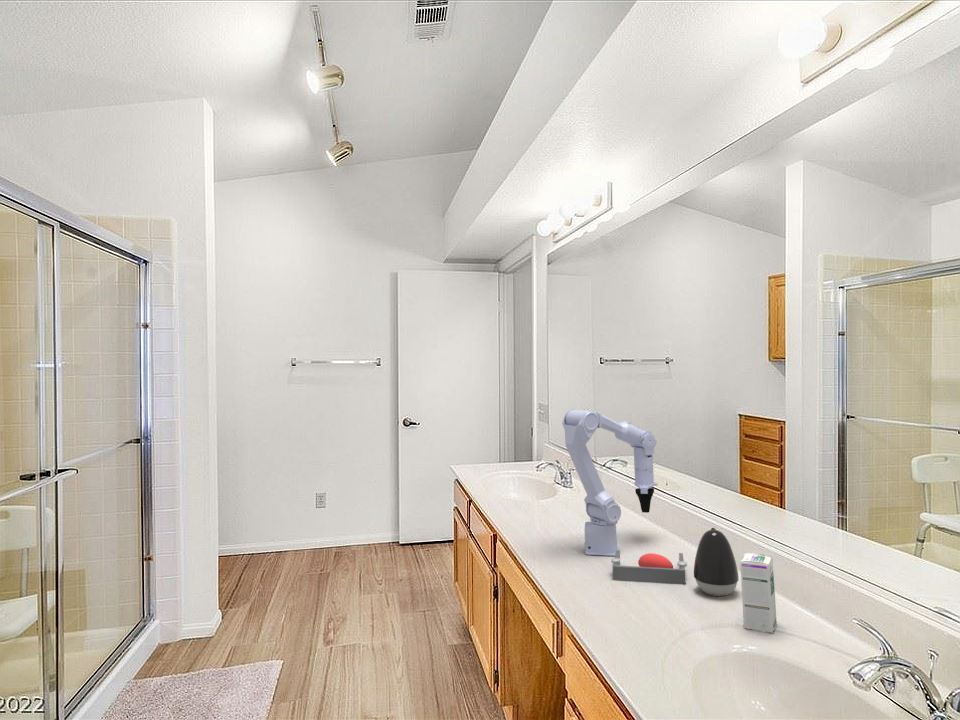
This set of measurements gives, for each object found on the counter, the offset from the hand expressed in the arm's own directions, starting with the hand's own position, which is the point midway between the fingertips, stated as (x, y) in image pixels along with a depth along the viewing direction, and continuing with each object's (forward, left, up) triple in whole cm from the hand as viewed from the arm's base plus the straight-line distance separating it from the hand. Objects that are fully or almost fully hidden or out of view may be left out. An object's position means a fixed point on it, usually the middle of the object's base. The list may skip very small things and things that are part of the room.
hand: (645, 512), depth 189 cm
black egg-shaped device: (+17, -39, -10) cm, 44 cm away
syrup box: (+24, -57, -10) cm, 63 cm away
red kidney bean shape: (+3, -27, -10) cm, 29 cm away
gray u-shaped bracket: (+1, -28, -9) cm, 30 cm away
